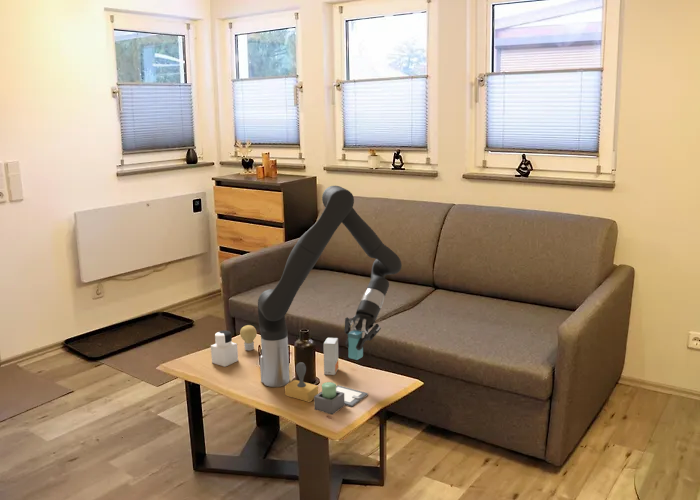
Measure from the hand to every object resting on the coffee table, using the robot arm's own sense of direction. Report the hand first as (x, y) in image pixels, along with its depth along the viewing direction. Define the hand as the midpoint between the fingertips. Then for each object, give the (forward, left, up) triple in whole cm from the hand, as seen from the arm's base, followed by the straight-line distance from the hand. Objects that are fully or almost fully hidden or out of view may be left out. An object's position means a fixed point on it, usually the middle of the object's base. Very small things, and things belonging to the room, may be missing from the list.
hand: (352, 347), depth 223 cm
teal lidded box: (0, +2, -4) cm, 5 cm away
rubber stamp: (-12, -14, -15) cm, 24 cm away
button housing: (+1, -16, -15) cm, 22 cm away
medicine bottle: (-54, -6, -15) cm, 56 cm away
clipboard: (+1, -7, -15) cm, 16 cm away
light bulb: (-54, +8, -15) cm, 56 cm away
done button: (+1, -16, -11) cm, 20 cm away
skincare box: (-14, +7, -15) cm, 21 cm away
